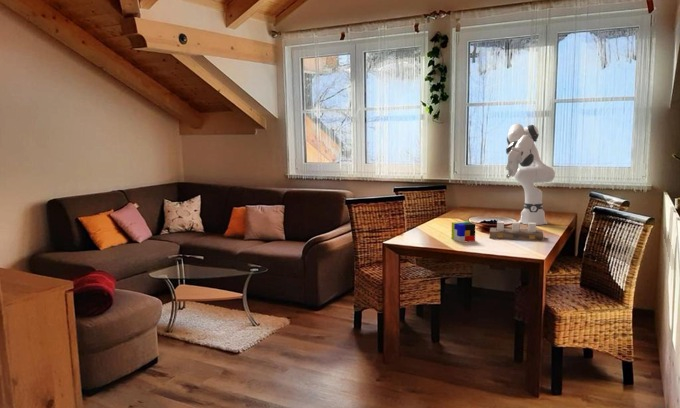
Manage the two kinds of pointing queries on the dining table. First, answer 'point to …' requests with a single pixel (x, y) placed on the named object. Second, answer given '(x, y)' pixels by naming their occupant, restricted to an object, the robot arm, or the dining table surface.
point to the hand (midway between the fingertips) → (507, 173)
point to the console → (516, 234)
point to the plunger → (531, 227)
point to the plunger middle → (516, 226)
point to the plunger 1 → (500, 225)
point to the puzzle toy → (463, 231)
